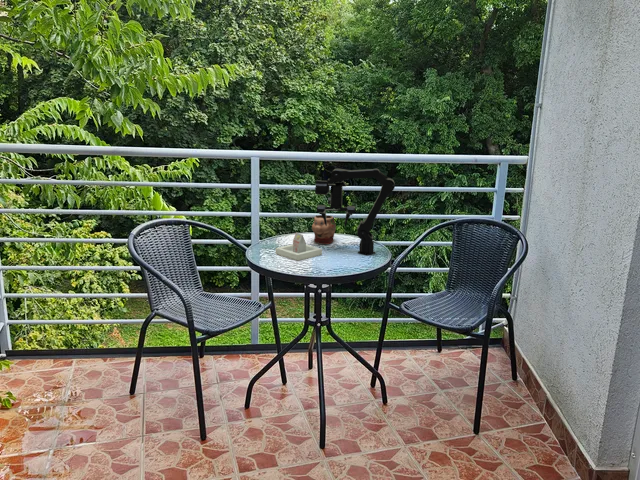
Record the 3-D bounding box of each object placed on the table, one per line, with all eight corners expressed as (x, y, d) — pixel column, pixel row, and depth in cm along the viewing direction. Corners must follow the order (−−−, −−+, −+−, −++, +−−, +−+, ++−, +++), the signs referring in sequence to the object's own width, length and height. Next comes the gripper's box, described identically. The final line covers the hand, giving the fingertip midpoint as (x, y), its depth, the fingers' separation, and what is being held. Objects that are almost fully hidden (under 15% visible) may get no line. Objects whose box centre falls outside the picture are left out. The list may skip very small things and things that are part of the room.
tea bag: (299, 251, 276) (299, 231, 274) (305, 254, 270) (306, 234, 268) (292, 252, 274) (292, 232, 272) (299, 255, 269) (299, 235, 266)
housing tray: (322, 255, 272) (322, 249, 272) (297, 261, 261) (297, 255, 261) (300, 248, 283) (300, 242, 283) (275, 254, 273) (275, 248, 272)
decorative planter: (318, 236, 308) (318, 211, 305) (339, 238, 305) (340, 213, 302) (307, 245, 290) (307, 218, 286) (330, 247, 287) (330, 220, 283)
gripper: (355, 192, 278) (354, 223, 282) (318, 191, 279) (317, 222, 283) (355, 196, 268) (354, 228, 272) (316, 195, 269) (316, 227, 272)
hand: (335, 226), depth 275 cm, fingers open, 9 cm apart
